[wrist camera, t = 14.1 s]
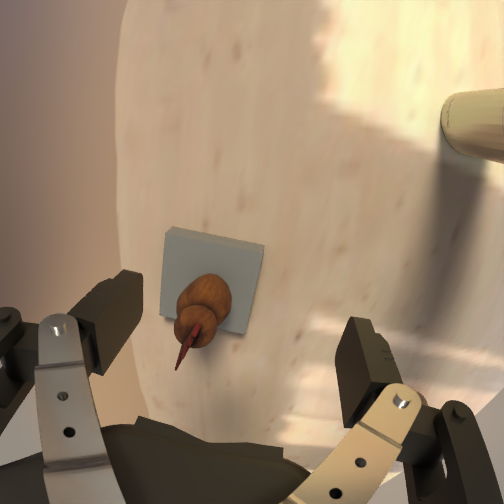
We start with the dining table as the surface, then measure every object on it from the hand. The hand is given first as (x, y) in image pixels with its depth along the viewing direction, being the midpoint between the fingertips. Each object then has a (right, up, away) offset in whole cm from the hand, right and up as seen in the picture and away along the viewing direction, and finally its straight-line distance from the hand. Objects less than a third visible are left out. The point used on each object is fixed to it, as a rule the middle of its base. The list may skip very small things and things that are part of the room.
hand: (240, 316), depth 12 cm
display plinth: (-5, -1, +34) cm, 35 cm away
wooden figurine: (-5, -2, +32) cm, 32 cm away
